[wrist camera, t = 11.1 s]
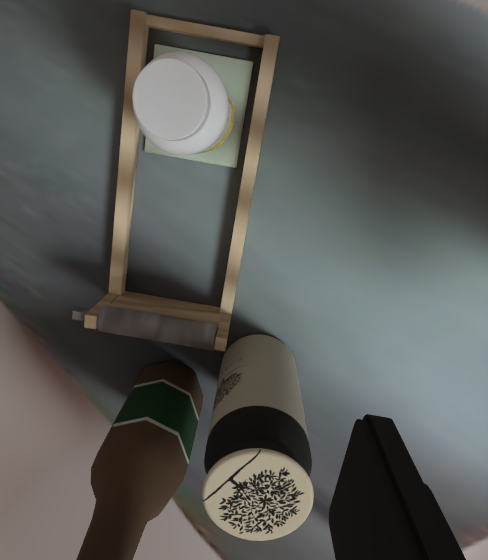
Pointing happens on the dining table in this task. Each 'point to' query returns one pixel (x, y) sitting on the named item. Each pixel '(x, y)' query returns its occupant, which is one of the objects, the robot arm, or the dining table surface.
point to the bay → (236, 77)
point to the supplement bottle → (182, 104)
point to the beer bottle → (142, 459)
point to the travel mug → (258, 443)
